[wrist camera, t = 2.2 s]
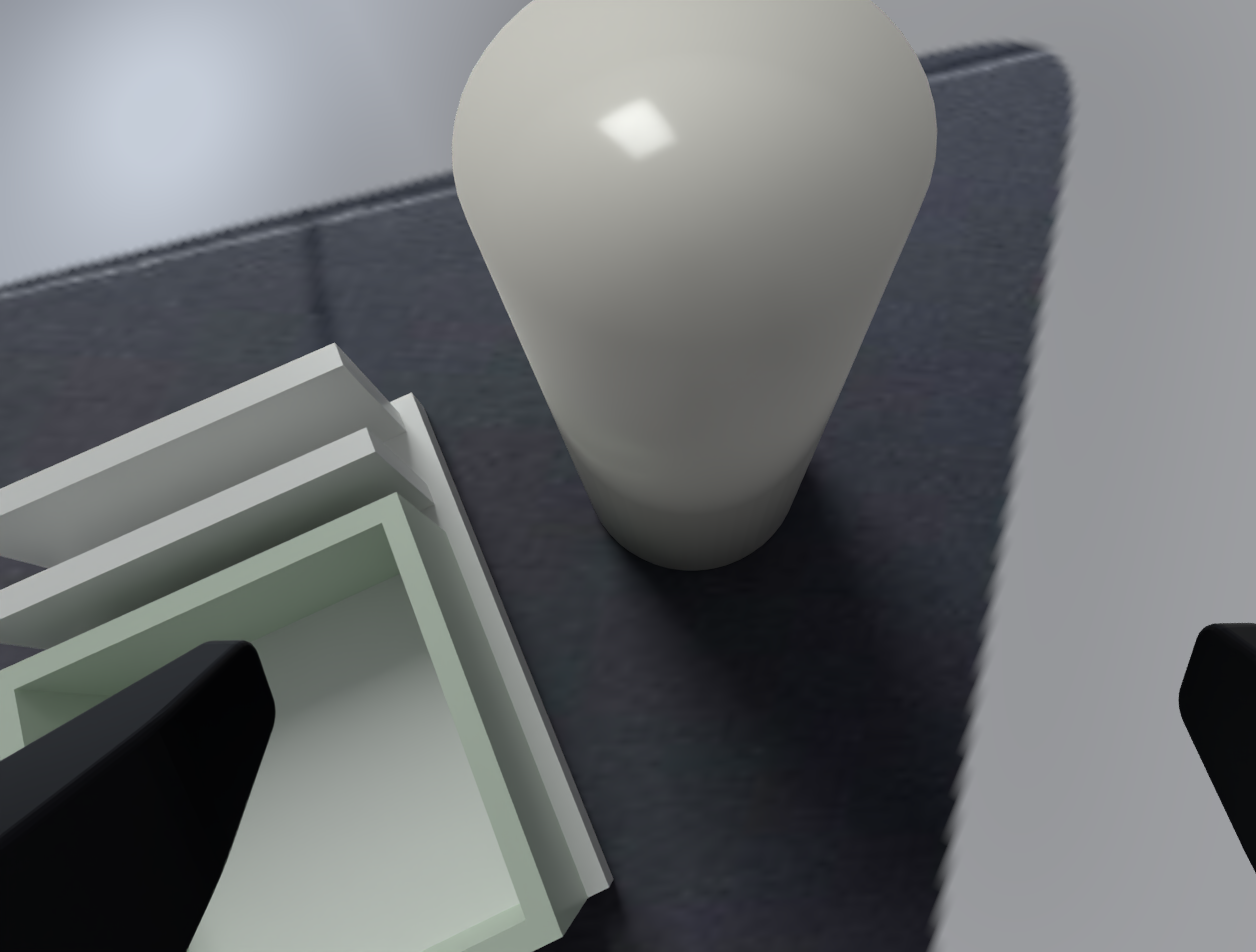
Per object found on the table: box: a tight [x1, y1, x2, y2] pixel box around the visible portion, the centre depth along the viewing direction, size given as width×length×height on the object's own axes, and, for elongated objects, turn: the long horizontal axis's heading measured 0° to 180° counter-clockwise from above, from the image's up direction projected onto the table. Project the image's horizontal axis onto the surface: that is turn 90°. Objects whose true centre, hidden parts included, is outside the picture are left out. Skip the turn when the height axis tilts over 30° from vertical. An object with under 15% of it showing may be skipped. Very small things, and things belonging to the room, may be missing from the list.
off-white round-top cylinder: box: [452, 0, 937, 571], centre depth 15 cm, size 6×6×12 cm
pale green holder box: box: [0, 343, 614, 952], centre depth 18 cm, size 13×10×5 cm
